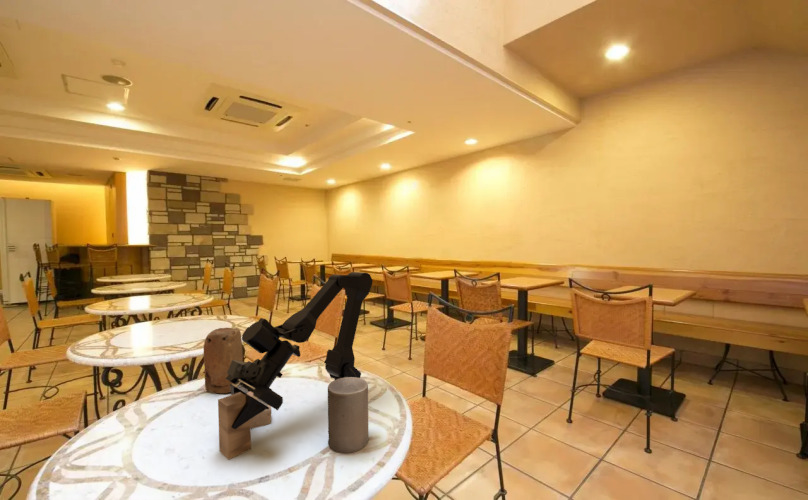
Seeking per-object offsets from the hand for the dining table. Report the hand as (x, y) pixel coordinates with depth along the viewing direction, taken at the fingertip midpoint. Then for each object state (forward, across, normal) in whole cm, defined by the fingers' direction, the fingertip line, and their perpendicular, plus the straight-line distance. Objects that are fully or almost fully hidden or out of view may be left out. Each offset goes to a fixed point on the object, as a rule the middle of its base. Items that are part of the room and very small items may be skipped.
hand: (228, 424), depth 77 cm
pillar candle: (-10, +18, +19) cm, 28 cm away
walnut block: (+4, 0, +6) cm, 7 cm away
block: (-4, -37, +14) cm, 40 cm away
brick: (-3, -14, +14) cm, 19 cm away
